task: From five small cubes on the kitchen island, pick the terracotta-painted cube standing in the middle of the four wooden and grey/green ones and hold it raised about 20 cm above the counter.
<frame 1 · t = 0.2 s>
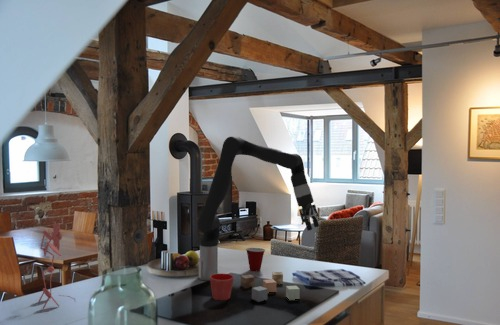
hand: (313, 228, 221), 31 cm above the kitchen island, tool tilted 20°, fingers open, 8 cm apart
walnut cube: (247, 286, 233), on the kitchen island
oak cube: (277, 283, 239), on the kitchen island
slate cube: (259, 299, 213), on the kitchen island
flower pot: (221, 298, 215), on the kitchen island
sage cube: (292, 298, 216), on the kitchen island
terracotta cube: (269, 291, 225), on the kitchen island
figurine: (57, 303, 206), on the kitchen island
plastic cup: (255, 270, 263), on the kitchen island
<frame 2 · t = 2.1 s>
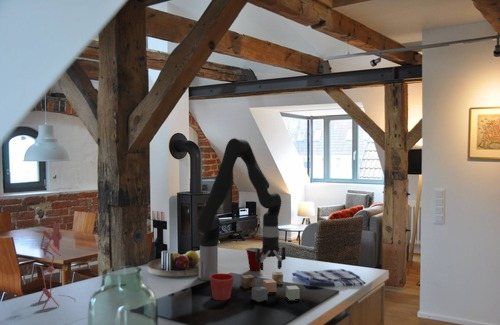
hand: (270, 269, 225), 10 cm above the kitchen island, tool pointing down, fingers open, 8 cm apart
nothing on the kitchen island moved.
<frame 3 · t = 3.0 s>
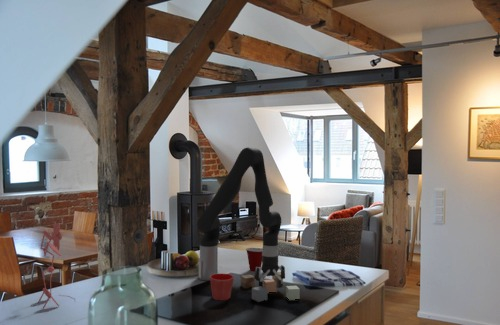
hand: (269, 288, 225), 1 cm above the kitchen island, tool pointing down, fingers open, 8 cm apart
nothing on the kitchen island moved.
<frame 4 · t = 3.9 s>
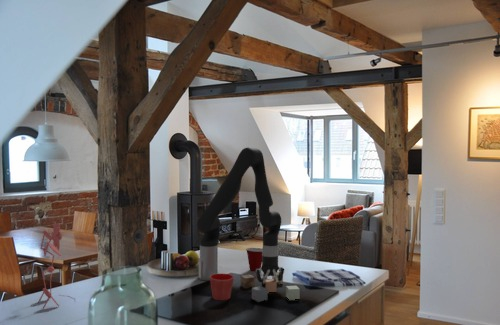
hand: (269, 289, 225), 1 cm above the kitchen island, tool pointing down, fingers closed on terracotta cube, 5 cm apart
terracotta cube: (269, 291, 225), on the kitchen island, touching gripper
everything else where it was.
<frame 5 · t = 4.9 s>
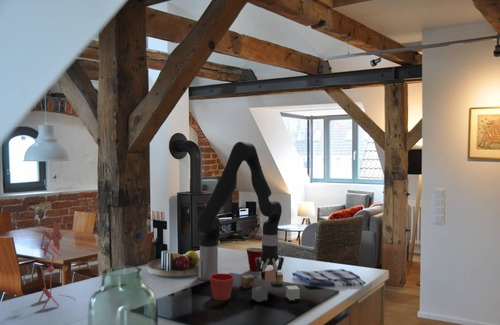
hand: (268, 279, 225), 6 cm above the kitchen island, tool pointing down, fingers closed on terracotta cube, 5 cm apart
terracotta cube: (268, 280, 225), point 5 cm above the kitchen island, touching gripper
everything else where it was.
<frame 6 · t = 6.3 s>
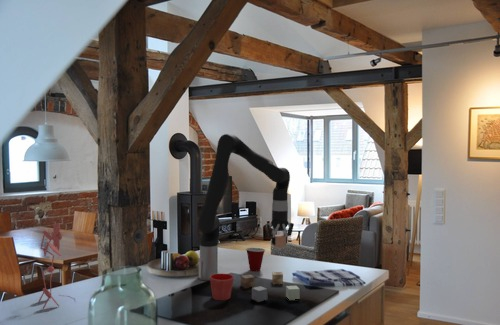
hand: (279, 244, 230), 21 cm above the kitchen island, tool pointing down, fingers closed on terracotta cube, 5 cm apart
terracotta cube: (279, 245, 230), point 20 cm above the kitchen island, touching gripper
everything else where it was.
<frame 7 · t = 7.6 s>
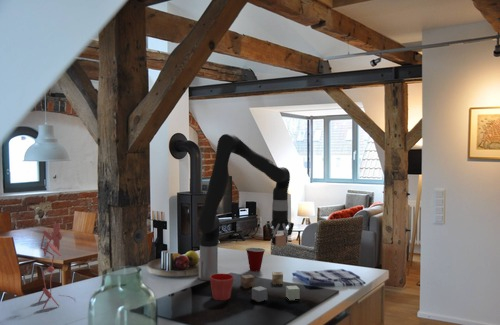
hand: (279, 244, 230), 21 cm above the kitchen island, tool pointing down, fingers closed on terracotta cube, 5 cm apart
terracotta cube: (279, 245, 230), point 21 cm above the kitchen island, touching gripper
everything else where it was.
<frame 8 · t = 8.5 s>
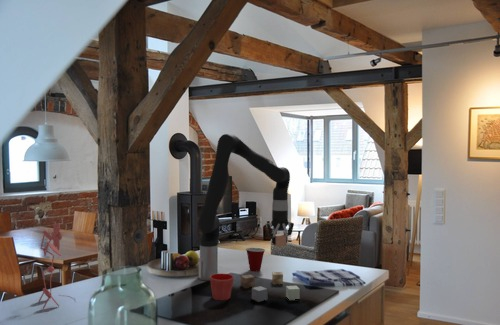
hand: (279, 244, 230), 21 cm above the kitchen island, tool pointing down, fingers closed on terracotta cube, 5 cm apart
terracotta cube: (279, 245, 230), point 21 cm above the kitchen island, touching gripper
everything else where it was.
at the end: the gripper is holding terracotta cube; terracotta cube point 20.6 cm above the kitchen island; slate cube moved 0.1 cm from its start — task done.
